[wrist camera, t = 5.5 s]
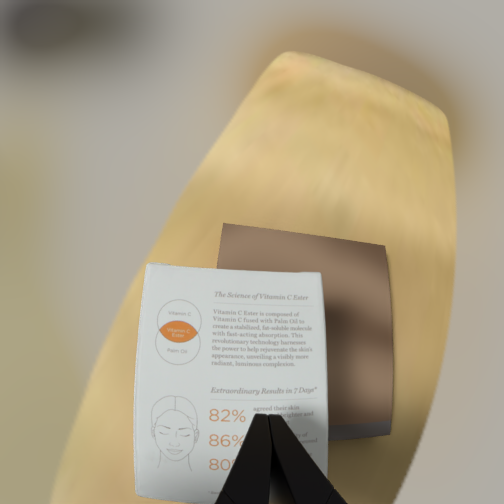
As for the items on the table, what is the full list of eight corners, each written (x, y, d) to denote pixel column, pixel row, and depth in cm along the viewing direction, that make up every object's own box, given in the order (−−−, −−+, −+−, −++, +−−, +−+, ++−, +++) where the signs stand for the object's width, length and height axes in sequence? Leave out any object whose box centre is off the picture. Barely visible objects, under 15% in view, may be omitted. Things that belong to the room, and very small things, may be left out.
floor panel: (379, 432, 17) (390, 434, 15) (198, 431, 16) (197, 435, 14) (376, 254, 23) (384, 245, 21) (222, 233, 22) (223, 223, 20)
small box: (296, 471, 14) (295, 303, 19) (329, 500, 9) (325, 269, 14) (156, 467, 13) (165, 296, 18) (131, 497, 8) (145, 258, 13)
